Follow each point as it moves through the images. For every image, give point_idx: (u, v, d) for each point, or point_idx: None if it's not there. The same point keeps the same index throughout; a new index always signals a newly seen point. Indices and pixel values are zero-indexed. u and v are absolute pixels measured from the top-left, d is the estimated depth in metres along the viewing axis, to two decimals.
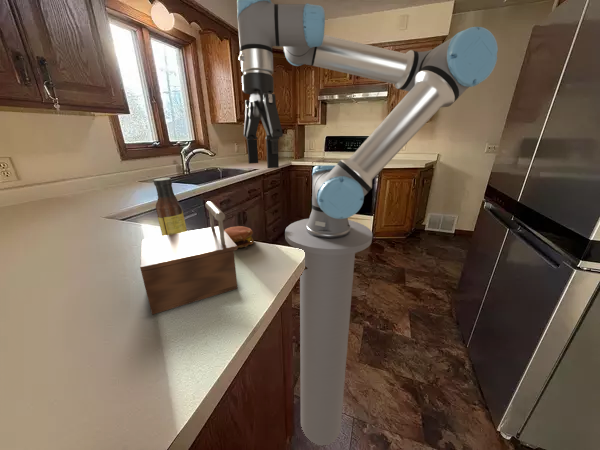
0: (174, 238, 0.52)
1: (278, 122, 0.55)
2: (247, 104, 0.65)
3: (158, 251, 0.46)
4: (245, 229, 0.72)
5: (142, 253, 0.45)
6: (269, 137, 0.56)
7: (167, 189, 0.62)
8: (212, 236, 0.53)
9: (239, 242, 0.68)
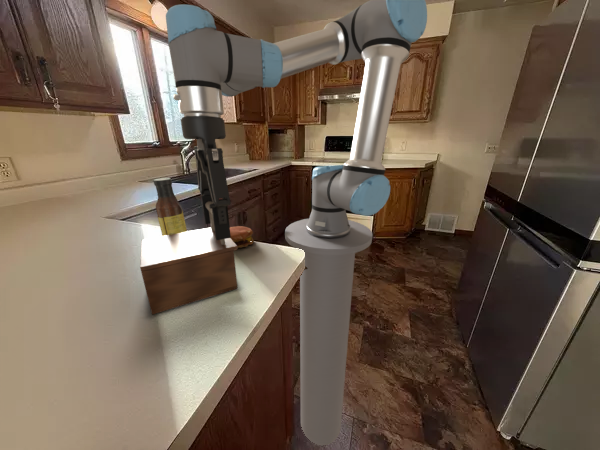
0: (174, 238, 0.52)
1: (225, 187, 0.43)
2: None
3: (158, 251, 0.46)
4: (245, 229, 0.72)
5: (142, 253, 0.45)
6: (213, 206, 0.44)
7: (167, 189, 0.62)
8: (212, 236, 0.53)
9: (239, 242, 0.68)
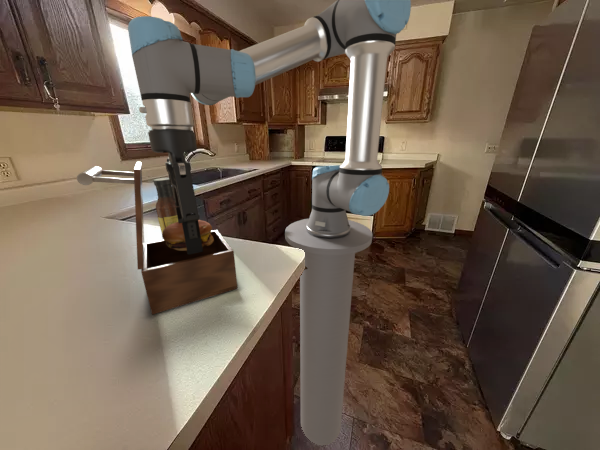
0: None
1: (193, 202, 0.42)
2: None
3: None
4: (200, 224, 0.50)
5: None
6: (182, 221, 0.43)
7: (167, 189, 0.62)
8: None
9: None
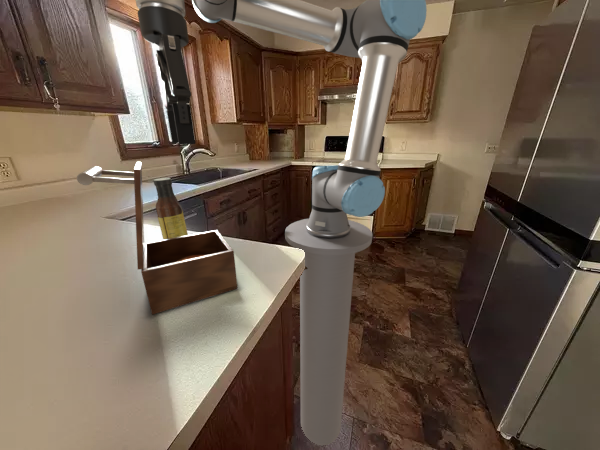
0: None
1: (184, 76, 0.39)
2: None
3: None
4: None
5: None
6: (172, 98, 0.40)
7: (167, 189, 0.62)
8: None
9: None
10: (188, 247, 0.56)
